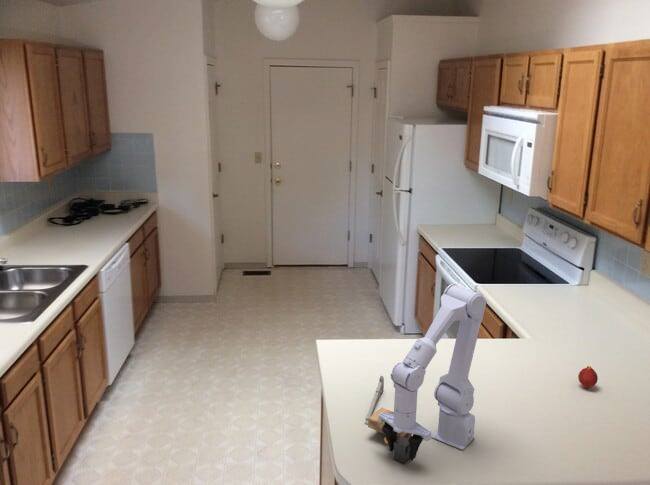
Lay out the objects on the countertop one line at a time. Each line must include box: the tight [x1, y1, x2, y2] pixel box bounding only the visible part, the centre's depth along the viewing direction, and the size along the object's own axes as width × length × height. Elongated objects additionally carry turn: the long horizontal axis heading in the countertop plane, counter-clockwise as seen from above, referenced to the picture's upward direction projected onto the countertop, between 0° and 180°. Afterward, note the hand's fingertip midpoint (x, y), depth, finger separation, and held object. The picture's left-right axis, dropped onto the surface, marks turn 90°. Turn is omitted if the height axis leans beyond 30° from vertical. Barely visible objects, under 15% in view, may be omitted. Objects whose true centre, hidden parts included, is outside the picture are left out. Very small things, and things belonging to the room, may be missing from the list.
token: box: [383, 435, 397, 446], centre depth 160 cm, size 4×4×1 cm
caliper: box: [364, 375, 385, 425], centre depth 177 cm, size 20×1×6 cm, turn 162°
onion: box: [577, 365, 599, 389], centre depth 190 cm, size 6×6×8 cm
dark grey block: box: [392, 436, 411, 466], centre depth 154 cm, size 8×4×6 cm, turn 143°
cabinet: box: [367, 407, 413, 439], centre depth 161 cm, size 10×7×6 cm
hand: (402, 453), depth 152 cm, fingers open, 5 cm apart
